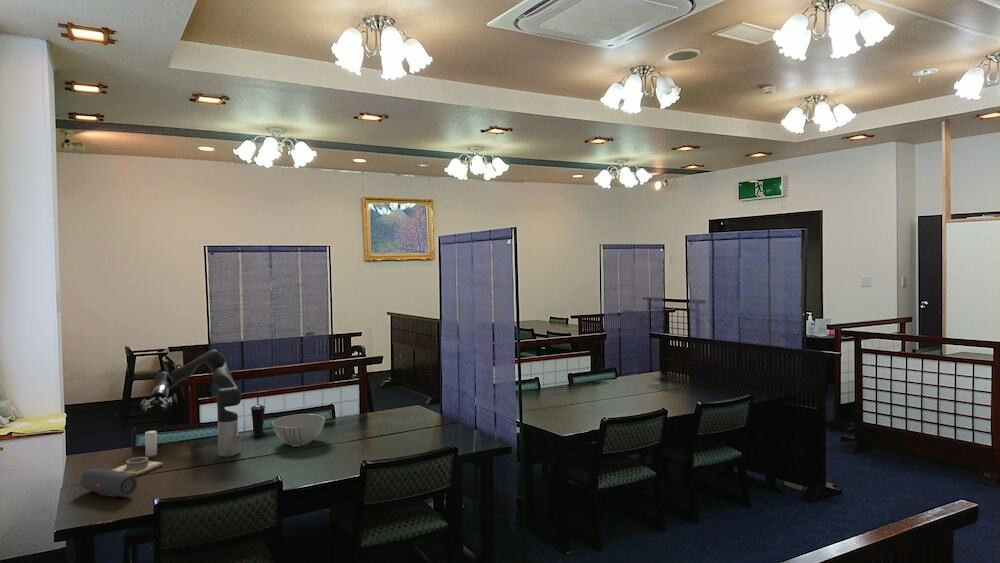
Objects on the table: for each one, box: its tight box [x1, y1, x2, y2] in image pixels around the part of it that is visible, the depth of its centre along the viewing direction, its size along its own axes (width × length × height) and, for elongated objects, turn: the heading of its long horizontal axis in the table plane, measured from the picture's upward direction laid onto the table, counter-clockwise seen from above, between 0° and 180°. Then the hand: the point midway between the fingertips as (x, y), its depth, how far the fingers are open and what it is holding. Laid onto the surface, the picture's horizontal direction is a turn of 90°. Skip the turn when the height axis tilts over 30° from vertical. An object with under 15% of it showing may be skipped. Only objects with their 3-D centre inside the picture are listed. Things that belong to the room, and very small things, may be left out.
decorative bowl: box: [271, 413, 326, 446], centre depth 330 cm, size 27×27×12 cm
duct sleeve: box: [144, 430, 158, 459], centre depth 308 cm, size 5×5×12 cm
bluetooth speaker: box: [79, 468, 138, 497], centre depth 259 cm, size 23×9×10 cm, turn 69°
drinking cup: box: [250, 395, 266, 433], centre depth 351 cm, size 8×8×20 cm
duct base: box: [110, 456, 164, 477], centre depth 289 cm, size 15×15×4 cm
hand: (153, 409), depth 317 cm, fingers open, 8 cm apart
